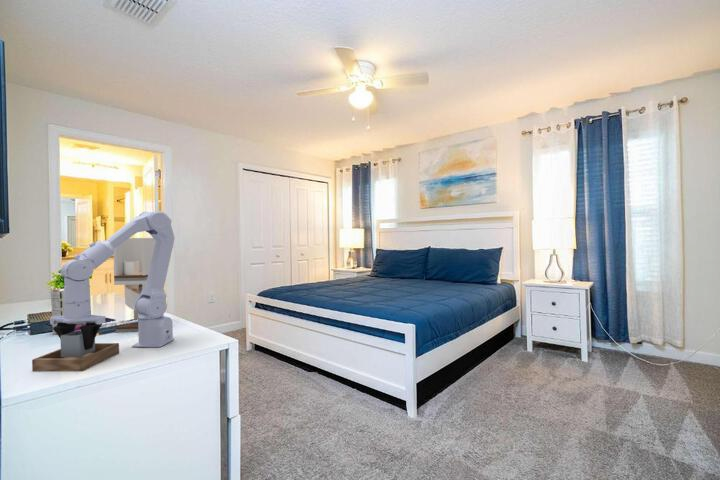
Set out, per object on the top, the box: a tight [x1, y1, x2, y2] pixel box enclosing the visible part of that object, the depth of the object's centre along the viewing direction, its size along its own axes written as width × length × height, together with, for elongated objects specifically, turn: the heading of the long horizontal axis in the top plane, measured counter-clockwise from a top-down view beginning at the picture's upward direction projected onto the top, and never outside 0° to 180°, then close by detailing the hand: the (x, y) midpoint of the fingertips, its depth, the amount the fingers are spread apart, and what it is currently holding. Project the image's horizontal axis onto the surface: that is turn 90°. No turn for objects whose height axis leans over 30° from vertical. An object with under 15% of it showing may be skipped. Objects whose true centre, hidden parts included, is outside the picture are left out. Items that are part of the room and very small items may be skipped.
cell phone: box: [104, 316, 117, 324], centre depth 145 cm, size 7×14×1 cm, turn 62°
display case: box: [113, 237, 156, 333], centre depth 133 cm, size 11×11×35 cm
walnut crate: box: [31, 342, 120, 372], centre depth 98 cm, size 14×14×4 cm
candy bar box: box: [50, 287, 92, 336], centre depth 130 cm, size 11×5×16 cm, turn 168°
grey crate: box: [59, 330, 96, 357], centre depth 98 cm, size 5×5×6 cm
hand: (78, 348), depth 98 cm, fingers closed on grey crate, 5 cm apart
